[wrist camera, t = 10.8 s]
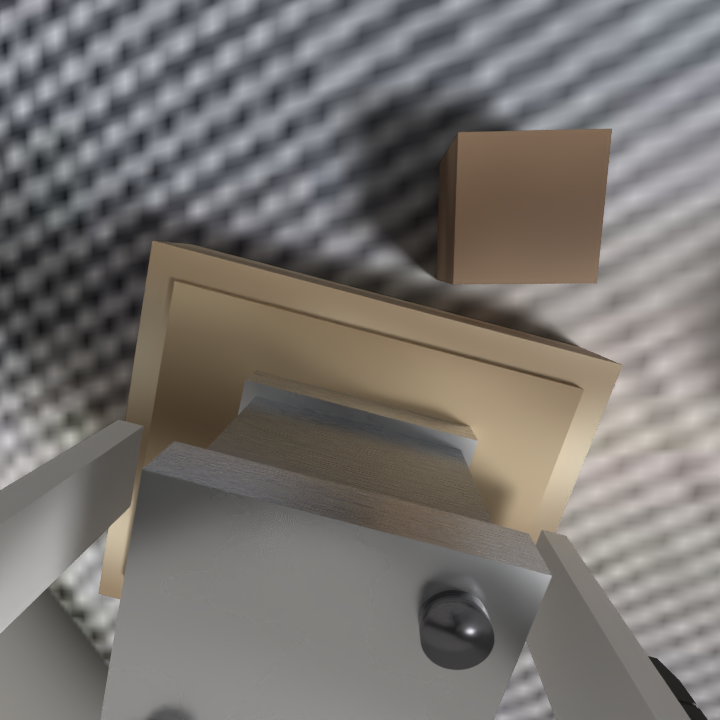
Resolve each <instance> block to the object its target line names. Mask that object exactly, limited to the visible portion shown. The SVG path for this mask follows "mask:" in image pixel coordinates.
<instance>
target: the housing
mask: <svg viewBox="0 0 720 720" xmlns="http://www.w3.org/2000/svg"><path fill="white" fill-rule="evenodd" d="M477 443H478V440H477V438H476V436H475V434H474V432H473V431H472V429H471V427H470V426H467V425H463V424H459V423H455V422H452V421H448V420H444V419H440V418H436V417H433V416H429V415H425V414H421V413H417V412H414V411H410V410H406V409H402V408H398V407H395V406H391V405H387V404H383V403H379V402H376V401H372V400H368V399H364V398H360V397H357V396H353V395H349V394H345V393H341V392H338V391H334V390H330V389H326V388H322V387H319V386H315V385H311V384H307V383H303V382H300V381H296V380H292V379H288V378H284V377H281V376H277V375H273V374H269V373H265V372H262V371H258V370H256V371H255V372H254V373H253V374H251V375H250V376H249V377H248V378H247V379H246V380H245V384H244V388H243V393H242V398H241V403H240V407H239V412H238V416H237V417H236V418H235V419H234V420H233V421H232V422H231V423H230V424H229V425H228V426H227V428H226V429H225V430H224V431H223V432H222V433H221V434H220V435H219V436H218V437H217V438H216V439H215V440H214V441H213V443H212V444H211V445H210V446H209V447H208V448H207V449H203V448H199V447H196V446H192V445H188V444H184V443H180V442H176V441H174V442H173V443H172V444H171V445H169V446H168V447H167V448H166V449H165V450H164V451H163V452H161V453H160V454H159V455H158V456H157V457H156V458H154V459H153V460H152V461H151V462H150V463H149V464H148V465H146V466H145V467H144V468H143V469H142V473H141V479H140V485H139V491H138V497H137V503H136V509H135V515H134V521H133V527H132V533H131V539H130V545H129V551H128V557H127V563H126V569H125V575H124V581H123V587H122V593H121V599H120V605H119V611H118V617H117V623H116V629H115V635H114V641H113V647H112V653H111V659H110V665H109V671H108V677H107V684H106V690H105V696H104V702H103V708H102V714H101V720H493V719H494V717H495V714H496V712H497V710H498V707H499V705H500V702H501V700H502V697H503V695H504V692H505V690H506V687H507V685H508V683H509V680H510V678H511V675H512V673H513V670H514V668H515V665H516V663H517V661H518V658H519V656H520V653H521V651H522V648H523V646H524V643H525V641H526V638H527V636H528V634H529V631H530V629H531V626H532V624H533V621H534V619H535V616H536V614H537V612H538V609H539V607H540V604H541V602H542V599H543V597H544V594H545V592H546V589H547V587H548V585H549V582H550V580H551V577H552V575H551V573H550V571H549V569H548V567H547V566H546V564H545V562H544V560H543V558H542V556H541V555H540V553H539V551H538V549H537V547H536V545H535V544H534V542H533V540H532V538H531V536H530V535H529V533H525V532H522V531H518V530H514V529H510V528H506V527H502V526H499V525H495V524H492V521H491V519H490V517H489V514H488V512H487V510H486V507H485V505H484V503H483V500H482V498H481V496H480V493H479V491H478V489H477V486H476V484H475V482H474V479H473V477H472V475H471V472H470V470H469V466H470V464H471V461H472V458H473V455H474V452H475V449H476V446H477Z"/></svg>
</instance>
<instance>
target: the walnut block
mask: <svg viewBox="0 0 720 720" xmlns="http://www.w3.org/2000/svg"><path fill="white" fill-rule="evenodd" d="M611 134H612V129H577V130H533V131H489V132H458V133H457V135H456V137H455V138H454V140H453V142H452V143H451V145H450V147H449V148H448V150H447V152H446V153H445V155H444V157H443V159H442V160H441V162H440V164H439V197H438V237H437V276H436V279H437V280H440V281H444V282H447V283H450V284H556V283H597V275H598V265H599V255H600V245H601V235H602V225H603V214H604V204H605V194H606V184H607V174H608V164H609V154H610V144H611Z"/></svg>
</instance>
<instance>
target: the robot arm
mask: <svg viewBox="0 0 720 720" xmlns="http://www.w3.org/2000/svg"><path fill="white" fill-rule="evenodd" d="M142 432H143V426H142V425H138V424H134V423H130V422H126V421H123V420H117V421H115V422H114V423H112V424H110V425H109V426H107V427H105V428H104V429H102V430H100V431H99V432H97V433H95V434H94V435H92V436H90V437H89V438H87V439H85V440H84V441H82V442H80V443H79V444H77V445H75V446H74V447H72V448H70V449H69V450H67V451H65V452H63V453H62V454H60V455H58V456H57V457H55V458H53V459H52V460H50V461H48V462H47V463H45V464H43V465H42V466H40V467H38V468H37V469H35V470H33V471H32V472H30V473H28V474H27V475H25V476H23V477H22V478H20V479H18V480H17V481H15V482H13V483H12V484H10V485H8V486H7V487H5V488H3V489H2V490H0V633H1V632H2V631H3V630H4V629H5V628H6V627H7V626H8V625H9V624H10V623H11V622H12V621H13V620H15V618H17V617H18V616H19V615H20V614H21V613H22V612H23V611H24V610H25V609H26V608H27V607H28V606H29V605H30V604H31V603H32V602H33V601H34V600H35V599H36V598H37V597H38V596H39V595H40V594H41V593H42V592H43V591H44V590H45V589H46V588H47V587H48V586H49V585H50V584H51V583H52V582H54V581H55V580H56V579H57V578H58V577H59V576H60V575H61V574H62V573H63V572H64V571H65V570H66V569H67V568H68V567H69V566H70V565H71V564H72V563H73V562H74V561H75V560H76V559H77V558H78V557H79V556H80V555H81V554H82V553H83V552H84V551H85V550H86V549H87V548H88V547H89V546H90V545H91V544H92V543H94V542H95V541H96V540H97V539H98V538H99V537H100V536H101V535H102V534H103V533H104V532H105V531H106V530H107V529H108V528H109V527H110V526H111V525H112V524H113V523H114V522H115V521H116V520H117V519H118V518H119V517H120V516H121V515H122V514H123V513H124V512H125V511H126V510H127V509H128V508H129V507H130V506H131V500H132V494H133V488H134V482H135V475H136V469H137V463H138V457H139V451H140V445H141V438H142ZM536 547H537V549H538V551H539V553H540V555H541V556H542V558H543V560H544V562H545V564H546V566H547V567H548V569H549V571H550V573H551V575H552V577H551V580H550V582H549V585H548V587H547V589H546V592H545V594H544V597H543V599H542V602H541V604H540V607H539V609H538V612H537V614H536V616H535V619H534V621H533V624H532V626H531V629H530V631H529V634H528V636H527V638H526V642H527V645H528V647H529V650H530V652H531V655H532V658H533V660H534V663H535V665H536V668H537V671H538V673H539V676H540V678H541V681H542V684H543V686H544V689H545V691H546V694H547V697H548V699H549V702H550V704H551V707H552V710H553V712H554V715H555V717H556V720H707V718H706V717H705V715H704V714H703V713H702V711H701V710H700V709H699V708H697V707H696V703H695V701H694V700H693V699H692V697H691V696H690V694H689V693H688V692H687V690H686V689H685V687H684V686H683V685H682V683H681V682H680V681H679V680H678V679H677V678H676V677H675V676H674V675H673V674H672V673H671V672H670V671H669V670H668V669H667V668H666V667H665V666H664V665H663V664H662V663H661V662H660V661H659V660H658V659H657V658H653V657H649V656H647V654H646V653H645V651H644V650H643V648H642V647H641V645H640V644H639V643H638V641H637V640H636V638H635V637H634V635H633V634H632V632H631V631H630V629H629V628H628V626H627V625H626V623H625V622H624V620H623V619H622V617H621V616H620V615H619V613H618V612H617V610H616V609H615V607H614V606H613V604H612V603H611V601H610V600H609V598H608V597H607V595H606V594H605V592H604V591H603V590H602V588H601V587H600V585H599V584H598V582H597V581H596V579H595V578H594V576H593V575H592V573H591V572H590V570H589V569H588V567H587V566H586V565H585V563H584V562H583V560H582V559H581V557H580V556H579V554H578V553H577V551H576V550H575V548H574V547H573V545H572V544H571V542H570V541H569V540H568V538H567V537H566V536H564V535H561V534H557V533H553V532H549V531H545V530H541V533H540V535H539V538H538V540H537V543H536Z"/></svg>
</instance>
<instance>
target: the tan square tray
mask: <svg viewBox="0 0 720 720" xmlns="http://www.w3.org/2000/svg"><path fill="white" fill-rule="evenodd" d="M621 367H622V365H621V364H619V363H616V362H614V361H612V360H609V359H607V358H605V357H602V356H600V355H598V354H595V353H593V352H590V351H588V350H586V349H583V348H581V347H577V346H574V345H570V344H566V343H562V342H559V341H555V340H551V339H547V338H544V337H540V336H536V335H532V334H528V333H525V332H521V331H517V330H513V329H510V328H506V327H502V326H498V325H495V324H491V323H487V322H483V321H479V320H476V319H472V318H468V317H464V316H461V315H457V314H453V313H449V312H445V311H442V310H438V309H434V308H430V307H427V306H423V305H419V304H415V303H412V302H408V301H404V300H400V299H396V298H393V297H389V296H385V295H381V294H378V293H374V292H370V291H366V290H363V289H359V288H355V287H351V286H347V285H344V284H340V283H336V282H332V281H329V280H325V279H321V278H317V277H314V276H310V275H306V274H302V273H298V272H295V271H291V270H287V269H283V268H280V267H276V266H272V265H268V264H265V263H261V262H257V261H253V260H249V259H246V258H242V257H238V256H234V255H231V254H227V253H223V252H219V251H216V250H212V249H208V248H204V247H200V246H197V245H193V244H184V243H174V242H163V241H153V240H152V247H151V253H150V260H149V266H148V273H147V279H146V286H145V293H144V299H143V306H142V312H141V319H140V325H139V332H138V339H137V345H136V352H135V358H134V365H133V371H132V378H131V384H130V391H129V398H128V404H127V411H126V417H125V421H126V422H130V423H134V424H138V425H142V426H143V432H142V438H141V445H140V451H139V457H138V463H137V469H136V475H135V482H134V488H133V494H132V500H131V506H130V507H129V508H128V509H127V510H126V511H125V512H124V513H123V514H122V515H121V516H120V517H119V518H118V519H117V520H116V521H115V522H114V523H113V524H112V525H111V526H110V527H109V529H108V536H107V542H106V549H105V555H104V562H103V568H102V575H101V581H100V588H99V594H102V595H106V596H110V597H114V598H118V599H121V593H122V587H123V581H124V575H125V569H126V563H127V557H128V551H129V545H130V539H131V533H132V527H133V521H134V515H135V509H136V503H137V497H138V491H139V485H140V479H141V473H142V469H143V468H144V467H145V466H146V465H148V464H149V463H150V462H151V461H152V460H153V459H154V458H156V457H157V456H158V455H159V454H160V453H161V452H163V451H164V450H165V449H166V448H167V447H168V446H169V445H171V444H172V443H173V442H174V441H176V442H180V443H184V444H188V445H192V446H196V447H199V448H203V449H207V448H208V447H209V446H210V445H211V444H212V443H213V441H214V440H215V439H216V438H217V437H218V436H219V435H220V434H221V433H222V432H223V431H224V430H225V429H226V428H227V426H228V425H229V424H230V423H231V422H232V421H233V420H234V419H235V418H236V417H237V416H238V412H239V407H240V403H241V398H242V393H243V388H244V384H245V380H246V379H247V378H248V377H249V376H250V375H251V374H253V373H254V372H255V371H256V370H258V371H262V372H265V373H269V374H273V375H277V376H281V377H284V378H288V379H292V380H296V381H300V382H303V383H307V384H311V385H315V386H319V387H322V388H326V389H330V390H334V391H338V392H341V393H345V394H349V395H353V396H357V397H360V398H364V399H368V400H372V401H376V402H379V403H383V404H387V405H391V406H395V407H398V408H402V409H406V410H410V411H414V412H417V413H421V414H425V415H429V416H433V417H436V418H440V419H444V420H448V421H452V422H455V423H459V424H463V425H467V426H470V427H471V429H472V431H473V432H474V434H475V436H476V438H477V440H478V443H477V446H476V449H475V452H474V455H473V458H472V461H471V464H470V466H469V470H470V472H471V475H472V477H473V479H474V482H475V484H476V486H477V489H478V491H479V493H480V496H481V498H482V500H483V503H484V505H485V507H486V510H487V512H488V514H489V517H490V519H491V521H492V524H495V525H499V526H502V527H506V528H510V529H514V530H518V531H522V532H525V533H529V535H530V536H531V538H532V540H533V542H534V544H535V545H536V543H537V540H538V538H539V535H540V533H541V530H545V531H549V532H553V533H556V530H557V528H558V525H559V523H560V520H561V518H562V515H563V513H564V510H565V508H566V505H567V503H568V500H569V498H570V495H571V493H572V490H573V488H574V485H575V483H576V480H577V477H578V475H579V472H580V470H581V467H582V465H583V462H584V460H585V457H586V455H587V452H588V450H589V447H590V445H591V442H592V440H593V437H594V435H595V432H596V430H597V427H598V425H599V422H600V420H601V417H602V415H603V412H604V410H605V407H606V405H607V402H608V400H609V397H610V395H611V392H612V390H613V387H614V385H615V382H616V380H617V377H618V375H619V372H620V370H621Z"/></svg>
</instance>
